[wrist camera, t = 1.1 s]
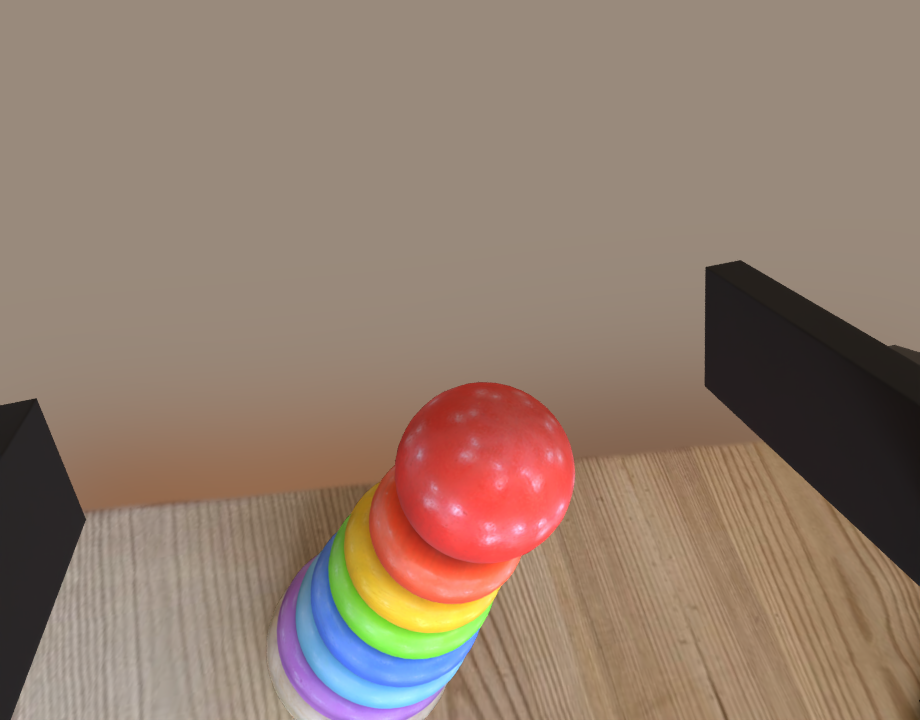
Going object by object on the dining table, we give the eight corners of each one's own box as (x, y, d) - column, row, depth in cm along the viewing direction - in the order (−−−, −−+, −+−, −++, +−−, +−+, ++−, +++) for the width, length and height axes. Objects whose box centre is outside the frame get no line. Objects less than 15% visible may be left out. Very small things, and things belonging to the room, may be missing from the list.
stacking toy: (448, 751, 34) (676, 602, 19) (254, 748, 32) (348, 579, 17) (443, 569, 38) (623, 340, 24) (272, 556, 36) (358, 295, 22)
